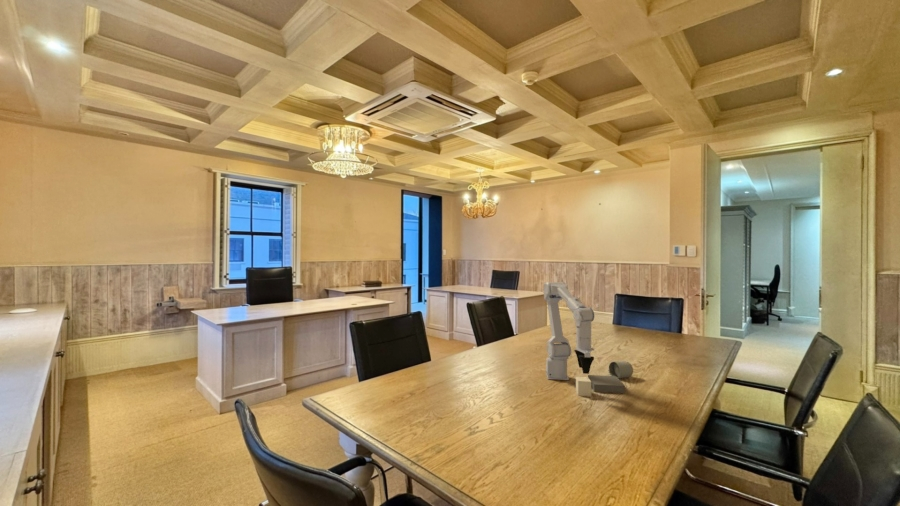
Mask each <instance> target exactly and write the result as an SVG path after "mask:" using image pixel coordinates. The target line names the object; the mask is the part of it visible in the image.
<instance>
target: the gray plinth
mask: <svg viewBox="0 0 900 506" xmlns="http://www.w3.org/2000/svg"><path fill="white" fill-rule="evenodd" d="M587 377H588V378H589V379H590V381H591V390H593V392H596V393H612V394H613V393H614V394H625V393H626V386H625V384H624V383H623V382H622V381H621V379H620V378H617V377H616V376H611V375H600V374H599V375H597V374H595V375H594V374H587Z"/></svg>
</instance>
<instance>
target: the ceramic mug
mask: <svg viewBox="0 0 900 506" xmlns="http://www.w3.org/2000/svg"><path fill="white" fill-rule="evenodd" d="M607 370H608V373H609V374H610V375H609V376H616V377H617V378H618V379H624V378H625V379H626V378H627V379H628V378H630V377H631V376H632V375H633V374H634V368H633V365H632V364H631V363H630V362H629V361H625V360H620V361H619V360H613V361H611V362H610V363H609V364H608V369H607Z"/></svg>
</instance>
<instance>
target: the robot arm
mask: <svg viewBox="0 0 900 506" xmlns="http://www.w3.org/2000/svg"><path fill="white" fill-rule="evenodd" d="M542 291H543V298H544V301H545V302H546V305H547V306H546V307H547V310H548V311H547V312H548V313H547V314H548V318H549V325H550V333H551V337H550V338H549V339H548V340H547V341H546V353H547V355H548V357H546V359H545V376H546V378H547V379H548V380H560V381H569V380H570V378H569V376H568V359H569V357H571V355H572V347H571V344H570V340H569V339H568V338H566V337H565V336H564V334H563V327H562V326H563V325H562V320H561V315H560V314H561V313H560V306H559V302H560V301H562V300H563V301H565V302H566V307H567V309H569V311H571V313H572V314H573V320H574V325H575V326H576V329H575V330H576V333H575V334H576V347H575V349H574V352H575V355H576V359H577V364H578V367H579V368H580V369H581V370H582V373H583V374H584V375H585V374H587V375H590V370H591V366H592V363H593V361H594V360H595V357H594V356H591V352H592V351H595V348H594V347H592V322H593V321H594V320H595V312H594V309H593V308H592V307H589V306H586V305H585V304H584V303H583V302H582V301H581V300H580V299H579V298H578V297H575V296H573V295H572V293H571V291H570V290H569V287H568V284H567V283H566V282H565V281H560V282H559V281H557V282H554V281H553V282H549V281H546V282H545V283H544V285H543V287H542Z"/></svg>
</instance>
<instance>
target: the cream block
mask: <svg viewBox="0 0 900 506" xmlns="http://www.w3.org/2000/svg"><path fill="white" fill-rule="evenodd" d="M575 392H576V394H577V396H579V397H592V387H591V381H590V379H589V378H588V376H586V377H585V376H575Z"/></svg>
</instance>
